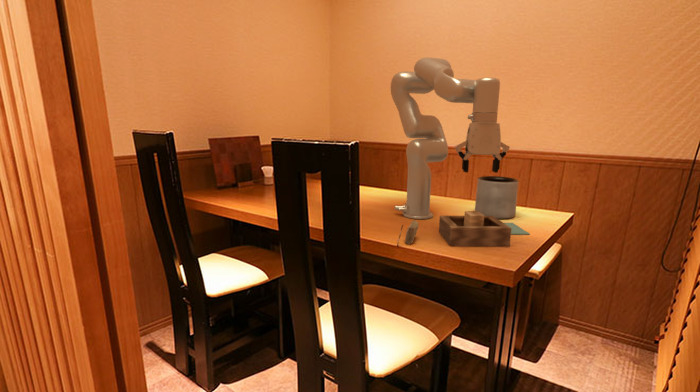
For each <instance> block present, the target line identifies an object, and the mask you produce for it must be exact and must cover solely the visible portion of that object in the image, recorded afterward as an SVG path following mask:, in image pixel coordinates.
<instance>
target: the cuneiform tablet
mask: <svg viewBox="0 0 700 392" xmlns="http://www.w3.org/2000/svg"><path fill="white" fill-rule="evenodd" d="M403 227H404V224H402V226H401V229H400V233H399V237H398V241H397V244H396V247H398V246H399V242H400V239H401V236H402V235H401V234H402V231H403ZM418 230H419V222H418V221H417V220H416V219H413V220H412V221H411V222H410V224H409V225H408V227H407V230H406V233H405V242H404V243H405V244H406V245H412V244H413V242H414V241H415V238H416V235H417V233H418Z"/></svg>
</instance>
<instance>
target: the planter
mask: <svg viewBox="0 0 700 392" xmlns="http://www.w3.org/2000/svg"><path fill="white" fill-rule="evenodd" d="M518 189H519V179H516V178H513V177H508V176H499V175H495V176H494V175H485V176H484V175H483V176H479V177H477V184H476V195H475V205H474V211H478V212H480V213H481V214H483V215H484V216H494V217H496V218H497V219H499V220H508V219H512V218H513V217H515V216H516V211H517V202H518V201H517V200H518Z"/></svg>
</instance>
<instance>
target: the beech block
mask: <svg viewBox="0 0 700 392" xmlns="http://www.w3.org/2000/svg"><path fill="white" fill-rule="evenodd" d="M463 216H464V226H483V224H484V215H483V214H481V213H480V212H478V211H475V210H465V211H464V215H463Z"/></svg>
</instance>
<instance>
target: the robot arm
mask: <svg viewBox="0 0 700 392" xmlns="http://www.w3.org/2000/svg"><path fill="white" fill-rule="evenodd" d="M454 75H455V73H454V70H453V68H452V65H451V63H450V62H449V61H448V60H446V59H445V58H438V57H422V58H420V59H418V60H417V61H416V62H415V64H414V66H413V71H399V72H396V73H395V74H394V75H393V77H392V78H391V82H390V95H391V98H392V101H393V103H394V105H395V107H396V110H397V111H398V115H399V119H400V123H401V126H402V129H403V132H404V134H405V137H406V138H409V139H412V140H411V141H409V142H408V144H407V145H406V148H405V155H406V159H407V160H406V161H407V162H406V163H407V180H406V181H407V184H406V202H404V204H402V205H394V210H395V211H399V212H402V213H401V214H402V216H403V217H405V218H408V219H413V220H427V219H431V218H433V217H434V213H433V212H432V211H430V208H431V207H430V205H431V191H432V190H431V188H432V171H431V168H430V166H429V164H428V163H438V162H443V161H445V160H446V159H447V158H448V155H449V146H448V142H447V138H446V135H445V132H444V129H443V126H442V124H441V123H442V122H440V119H438V117H436V116H434V115H428V114H423V113H421V110H420V107H419V104H418V102H417V101H416V100H415V99H414V97H412V96H411V94H417V95H419V94H420V95H421V94H422V95H425V94H430V93H431V92H433V91H434V93H435V94H436V96H438V97H439V98H441V99H443V100H445V101H446V102H449V103H454V104H455V103H456V104H472V113H471V114H468V115H467V120H470V121H471V122H470V123H469V125H468V128H467V132H466V137H465V139H466V140H464V141H463V142H460V143H458V144H456V145H455V146H454V149H455V150H456V153H457V155H458V156H459V157H460V158H461V160H462V161H461V162H462V164H461V165H462V166H461V169H462V171H463V172H464V173H469V167H470V160H469V158H470V157H471V156H472V155H474V156H475V155H476V156H477V155H478V156H481V155H482V156H483V155H484V156H486V155H487V156H492V157H493V159H492V168H491V171H492V172H493V173H495V174H496V173H499V170H500V166H501V160H502V161H503V158H505V156H507V153H508V152H509V149H510V146H509V145H507V144H506V143H503V142H502V141H501V140H502V139H501V137H502V136H501V134H502V133H501V125H500V123H499V122H498V113H499V111H498V110H499V102H500V101H499V98H500V89H501V88H500V87H501V82H500V79H498V78H496V77H481V78H478V79H476V80H475V79H466V78H455V77H454ZM462 148H464V149H465V150H464V151H465V152H463V151H462ZM501 148H502V150H501Z"/></svg>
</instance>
